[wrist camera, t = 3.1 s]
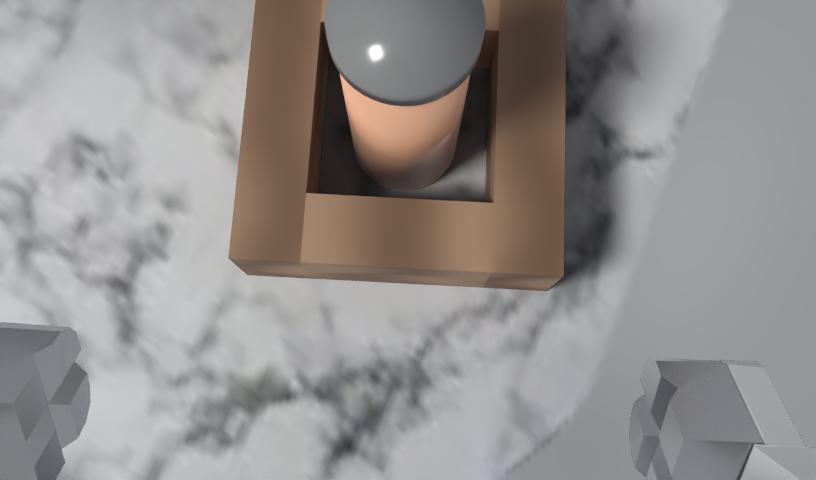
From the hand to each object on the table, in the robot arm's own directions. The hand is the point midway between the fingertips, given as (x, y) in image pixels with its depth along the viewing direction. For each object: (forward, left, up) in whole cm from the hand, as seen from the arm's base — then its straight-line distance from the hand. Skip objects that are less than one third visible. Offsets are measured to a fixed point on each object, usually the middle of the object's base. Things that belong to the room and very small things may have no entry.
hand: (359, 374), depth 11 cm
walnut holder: (0, +12, -24) cm, 27 cm away
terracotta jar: (0, +12, -24) cm, 27 cm away
